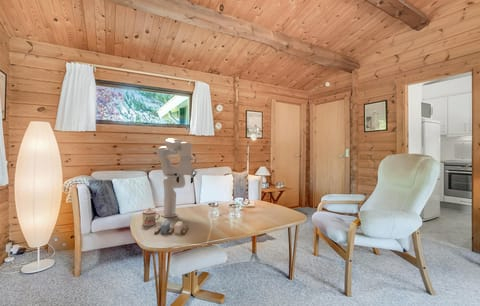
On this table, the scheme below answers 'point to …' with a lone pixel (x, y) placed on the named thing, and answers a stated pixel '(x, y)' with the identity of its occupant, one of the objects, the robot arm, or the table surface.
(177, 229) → the ivory stub
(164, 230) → the blue stub
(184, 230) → the slot rack
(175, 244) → the table surface
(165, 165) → the robot arm
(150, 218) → the teacup with lid
